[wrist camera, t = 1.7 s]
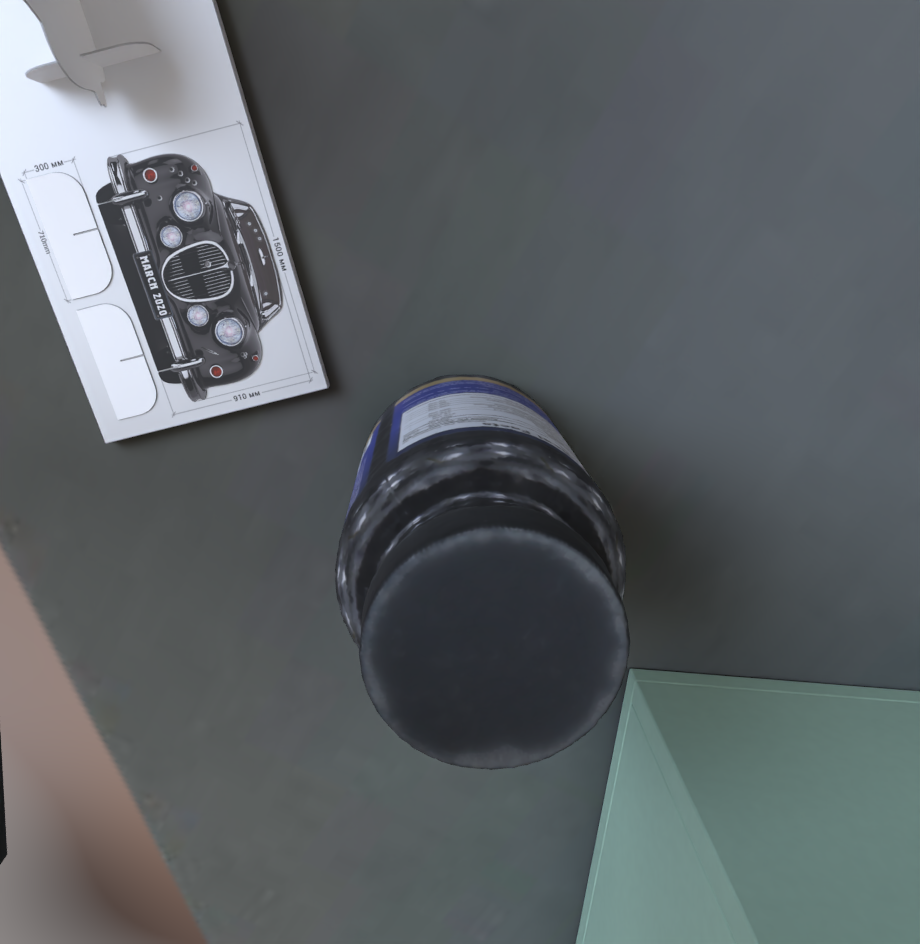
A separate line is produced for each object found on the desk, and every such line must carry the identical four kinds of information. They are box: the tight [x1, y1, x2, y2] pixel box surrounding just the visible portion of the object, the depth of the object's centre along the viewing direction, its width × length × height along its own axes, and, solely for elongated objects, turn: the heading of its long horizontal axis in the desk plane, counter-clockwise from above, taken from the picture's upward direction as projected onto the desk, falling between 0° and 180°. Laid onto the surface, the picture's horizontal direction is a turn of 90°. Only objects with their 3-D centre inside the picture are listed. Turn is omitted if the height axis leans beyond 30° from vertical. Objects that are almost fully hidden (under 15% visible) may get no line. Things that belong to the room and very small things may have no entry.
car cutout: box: [0, 0, 330, 444], centre depth 19 cm, size 15×7×4 cm, turn 14°
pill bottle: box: [335, 375, 630, 770], centre depth 19 cm, size 6×6×11 cm
